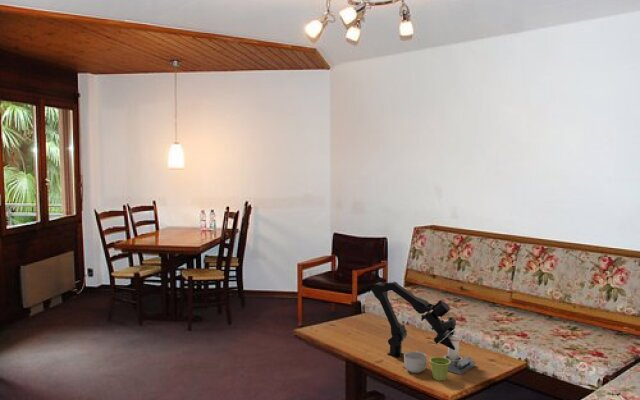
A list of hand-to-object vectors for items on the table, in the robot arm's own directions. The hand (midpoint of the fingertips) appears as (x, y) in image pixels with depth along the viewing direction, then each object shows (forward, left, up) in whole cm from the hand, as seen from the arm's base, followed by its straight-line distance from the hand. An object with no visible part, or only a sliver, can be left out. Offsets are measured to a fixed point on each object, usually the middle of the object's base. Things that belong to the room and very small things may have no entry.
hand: (456, 347), depth 270 cm
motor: (0, 0, -9) cm, 9 cm away
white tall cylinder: (0, +1, -7) cm, 7 cm away
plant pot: (-19, -2, -10) cm, 22 cm away
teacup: (-17, +12, -10) cm, 23 cm away
